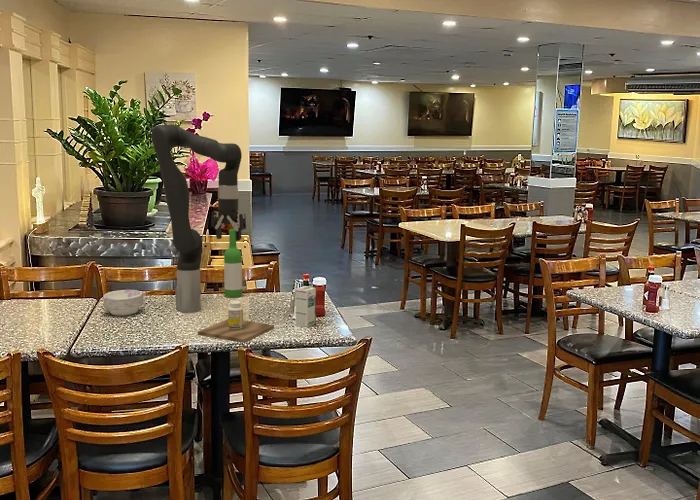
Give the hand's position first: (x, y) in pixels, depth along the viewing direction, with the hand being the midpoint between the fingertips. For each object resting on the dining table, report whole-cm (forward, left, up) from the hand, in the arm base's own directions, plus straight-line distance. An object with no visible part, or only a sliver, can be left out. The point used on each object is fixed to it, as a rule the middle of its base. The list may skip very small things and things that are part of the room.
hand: (228, 239), depth 257 cm
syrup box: (+28, +10, -32) cm, 44 cm away
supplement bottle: (+10, -10, -31) cm, 34 cm away
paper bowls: (-44, -10, -32) cm, 56 cm away
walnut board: (+10, -10, -32) cm, 35 cm away
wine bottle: (-22, +34, -32) cm, 52 cm away
